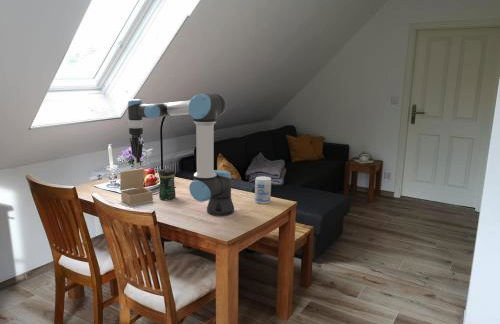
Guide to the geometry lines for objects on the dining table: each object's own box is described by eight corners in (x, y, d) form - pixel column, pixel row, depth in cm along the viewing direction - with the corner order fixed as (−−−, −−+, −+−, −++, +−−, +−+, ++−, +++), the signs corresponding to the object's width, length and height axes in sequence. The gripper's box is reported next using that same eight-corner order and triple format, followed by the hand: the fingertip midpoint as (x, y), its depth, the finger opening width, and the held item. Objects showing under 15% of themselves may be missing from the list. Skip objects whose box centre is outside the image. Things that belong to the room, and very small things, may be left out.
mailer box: (152, 201, 231) (152, 191, 229) (130, 206, 222) (129, 196, 220) (143, 196, 240) (143, 187, 238) (121, 200, 231) (121, 191, 229)
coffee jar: (166, 201, 231) (165, 171, 227) (157, 198, 236) (156, 169, 232) (178, 197, 239) (177, 168, 235) (169, 195, 243) (168, 166, 239)
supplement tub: (257, 204, 228) (257, 180, 224) (252, 200, 236) (252, 176, 233) (272, 203, 230) (273, 179, 227) (267, 198, 239) (268, 175, 236)
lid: (143, 168, 235) (143, 168, 235) (120, 171, 225) (120, 171, 226) (143, 186, 239) (142, 186, 239) (120, 190, 229) (120, 190, 230)
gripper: (147, 128, 217) (148, 169, 222) (136, 125, 226) (138, 164, 231) (134, 129, 212) (136, 171, 217) (124, 126, 221) (126, 166, 227)
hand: (137, 167), depth 224 cm, fingers closed
